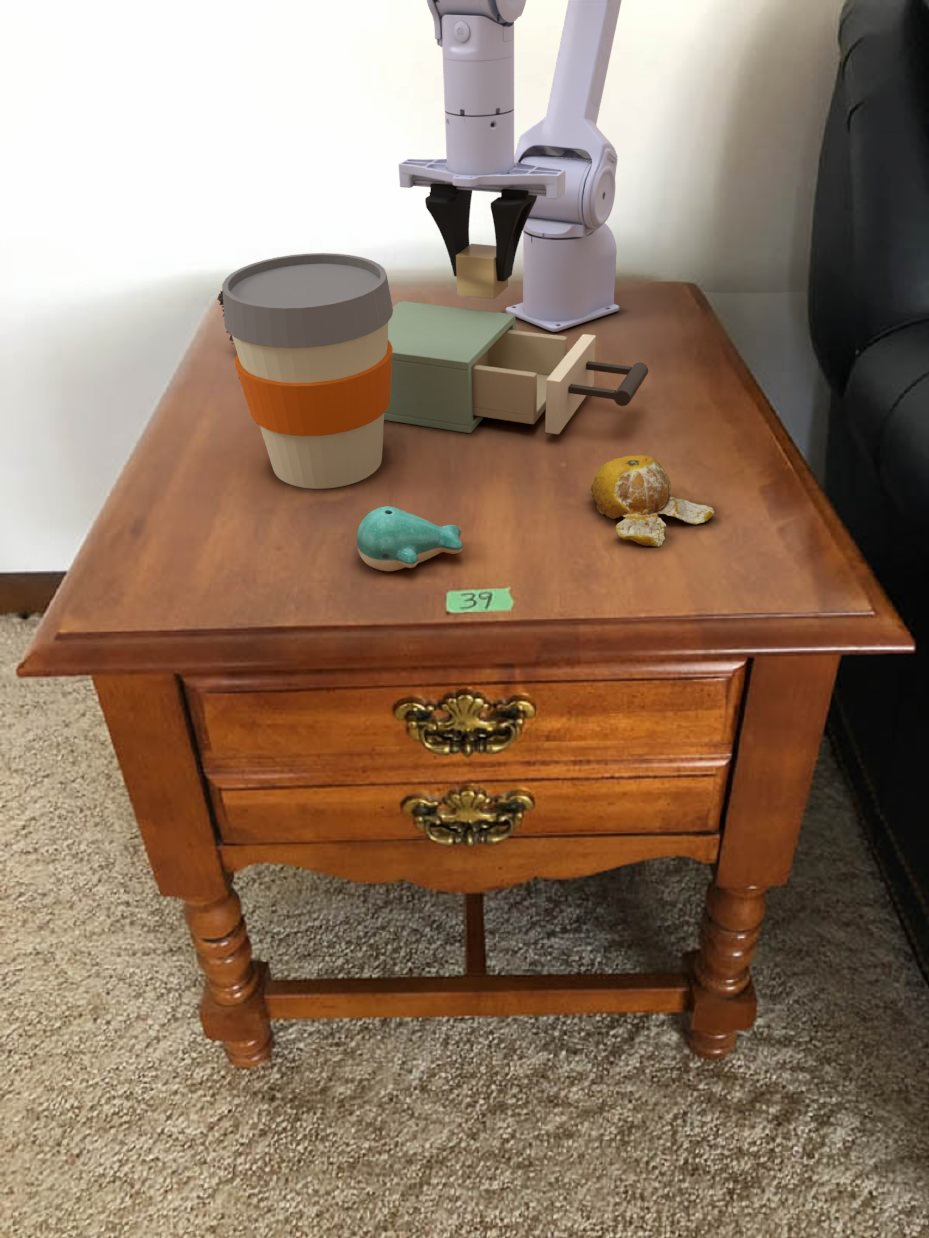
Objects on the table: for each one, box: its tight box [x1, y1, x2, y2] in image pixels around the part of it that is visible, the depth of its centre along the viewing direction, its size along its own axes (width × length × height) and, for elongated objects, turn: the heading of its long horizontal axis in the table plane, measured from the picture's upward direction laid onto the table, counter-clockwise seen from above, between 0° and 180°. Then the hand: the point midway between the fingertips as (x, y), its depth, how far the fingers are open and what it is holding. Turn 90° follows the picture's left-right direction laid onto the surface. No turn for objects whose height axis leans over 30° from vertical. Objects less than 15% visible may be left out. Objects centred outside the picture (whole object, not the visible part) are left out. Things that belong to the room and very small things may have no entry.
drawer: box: [471, 329, 649, 435], centre depth 88 cm, size 16×10×5 cm, turn 68°
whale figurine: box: [356, 505, 464, 572], centre depth 71 cm, size 6×7×4 cm
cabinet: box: [384, 300, 517, 434], centre depth 92 cm, size 11×11×6 cm
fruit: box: [590, 454, 715, 547], centre depth 75 cm, size 8×8×4 cm
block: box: [456, 243, 509, 300], centre depth 92 cm, size 4×4×4 cm
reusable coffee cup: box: [221, 252, 394, 490], centre depth 80 cm, size 13×13×15 cm
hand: (482, 275), depth 93 cm, fingers closed on block, 3 cm apart
